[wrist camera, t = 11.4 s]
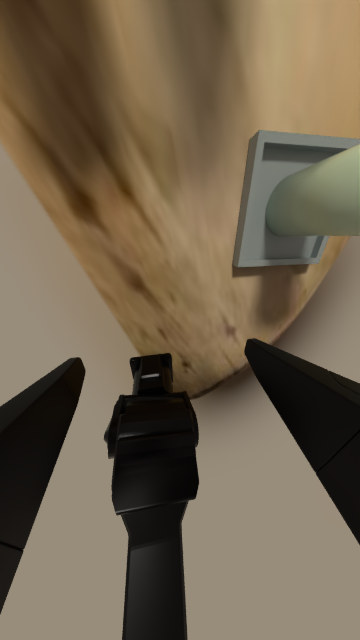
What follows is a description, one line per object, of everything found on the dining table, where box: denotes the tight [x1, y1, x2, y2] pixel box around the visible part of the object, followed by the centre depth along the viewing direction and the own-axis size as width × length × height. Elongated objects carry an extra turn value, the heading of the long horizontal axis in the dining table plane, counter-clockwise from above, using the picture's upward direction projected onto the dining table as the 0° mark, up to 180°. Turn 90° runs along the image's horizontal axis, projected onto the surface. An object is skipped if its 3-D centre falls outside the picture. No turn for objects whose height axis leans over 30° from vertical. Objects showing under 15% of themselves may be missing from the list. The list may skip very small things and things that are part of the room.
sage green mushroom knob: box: [266, 144, 360, 237], centre depth 12 cm, size 7×7×12 cm
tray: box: [232, 130, 360, 267], centre depth 18 cm, size 11×11×2 cm
